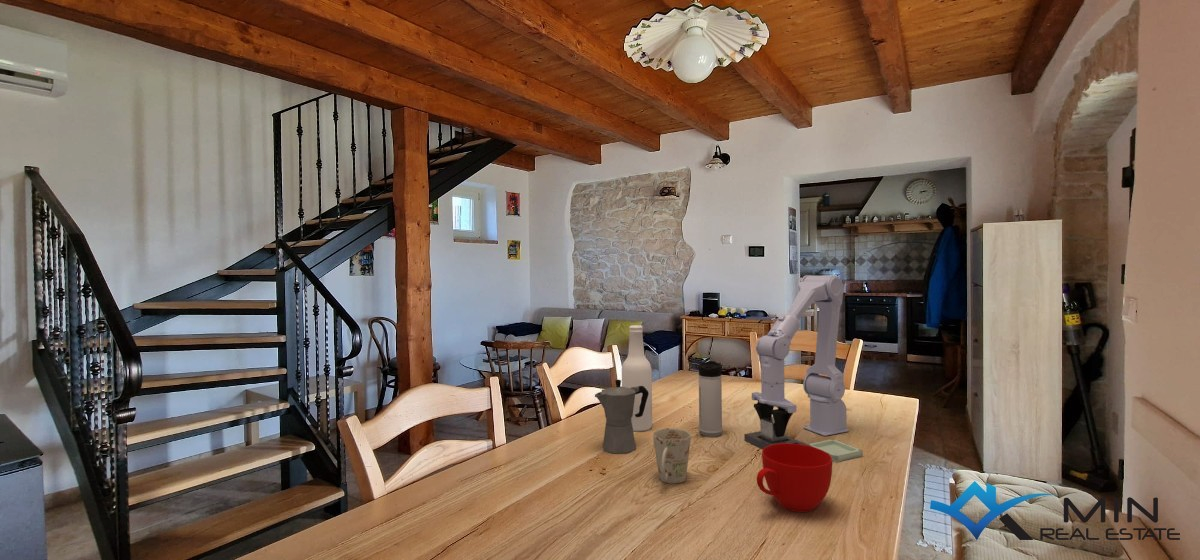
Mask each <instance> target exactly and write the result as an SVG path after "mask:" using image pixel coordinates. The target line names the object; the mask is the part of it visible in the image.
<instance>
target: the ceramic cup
mask: <svg viewBox="0 0 1200 560" xmlns="http://www.w3.org/2000/svg"><path fill="white" fill-rule="evenodd" d="M761 460H762V468H761V469H760V470H759V471H758V472H757V475H756V484H757V486H758V489H760V490H761V491H762V492H763V493H765V494H766V495H770V496H773V497H774V498H775V500H776V501H777V502H778V503H779V505H780V506H781V507H783V508H784V509H786V510H789V511H792V512H797V513H808V512H811V511H813V510H814V509H815V508H816V507H817V506H818V505H820V504H821V502H823V500H824V499H825V498H826V496H827V494H828V491H829V490H830V486H831V482H832V476H833V475H832V474H833V461H832V457H831V456H830V455H829V454H828V453H827V452H825V451H823V450H821V449H818V448H815V447H811V446H807V445H801V444H792V443H781V444H773V445H769V446H767V447H765V448H764V449H762V451H761ZM764 479H765V482H766V485H767V487H768V489H767V488H766V487H765V485H764Z"/></svg>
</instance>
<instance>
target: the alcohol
mask: <svg viewBox="0 0 1200 560" xmlns="http://www.w3.org/2000/svg"><path fill="white" fill-rule="evenodd" d="M628 328H629V330H628V332H629V336H628V337H629V338H628V353H627V357H626V359H625V360H624V361H623V363H622V365H621V366H622V367H621V387H626V388H631V387H636V386H637V387H638V386H644V387H645V388H646V389H647V390H648V393H649V394H648V398H647V401H646V405H645V409H644V412H643V415H642V416H641V417H635V414H637V413H639V406H640V404H641V398H642V395H643V394H642V393H639V394H635V400H634V408H633V416H632V417H631V422H632V427H633V432H645V431H646V432H647V431H649V430H651V428H652V426H653V384H652V383H653V381H652V380H653V379H652V378H653V377H652V376H653V375H652V374H653V373H652V369H653V368H652V365H651V363H650V361H649V360H648V358H646V355H645V348H644V347H645V346H644V339H643V337H644V336H643V335H644V334H643V332H644V331H643V328H644V327H643V325H638V324H637V325H636V324H635V325H630V326H629V327H628Z"/></svg>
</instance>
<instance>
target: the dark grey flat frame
mask: <svg viewBox="0 0 1200 560" xmlns="http://www.w3.org/2000/svg"><path fill="white" fill-rule="evenodd" d="M743 437H744V439H743V440H744V442H746V443H749V444H750V445H752V446H755V447H756V448H759V449H761V450H763V449H764V448H765V447H767V446H769V445H773V444H781V443H792V444H801V445H807V446H810V445H808V444H809V443H806V442H805V443H804V442H802V441H799V440H798V439H795V438H792V437H790V436H789V435H786V441H784V442H779V443H773V444H772V443H769V442H767V441H765V440H763V439H761V430H759V431H755V432H749V433H748V432H747V433H744V435H743ZM811 447H812V446H811ZM828 454H829V453H828Z"/></svg>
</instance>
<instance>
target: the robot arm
mask: <svg viewBox="0 0 1200 560" xmlns="http://www.w3.org/2000/svg"><path fill="white" fill-rule="evenodd" d="M843 296H844V283H843V282H842V280H841V278H840V277H839V276H838V275H835V274H834V275H811V274H810V275H809V274H806V275H804V276H803V277H802V278H801V279H800V282H799V283H798V293H797V295H796V297H795V298H794V300H793V301H792V304H791V306H790V308H789V309H788V311H787V312H786V313H783V314H782V313H781V314H780V315H779V316H778V317H777V320H776V321H775V322H774V323H773V325H772V326H771V329H769V331H768V333H767V334H765V335H762V336H761V337H760V338H759V339H758V341H757V342H756V346H755V350H756V354H757V355H758V362H760V367H761V368H760V370H761V371H760V372H761V373H760V375H761V376H760V377H761V388H760V389H761V392H759V391H756V392H751V400H752V401H757V403H753V408H754V409H755V411H756V413H757V415H758V418H759V420H760V419H762V418H768V417H773V418H774V422H775V432H776V436H777V437H782V436H784V434H785V430H786V431H787V428H788V427H787V426H788V424H789V421H790V419H791V417H792V416H793V414H795V413H797V404H795V403H793V402H791V401H789V400H788V399H787V398H785V397H786V396H785V359H786V358H787V356H789V352H790V350H791V349H790V346H791V344H792V343H791V342H792V339H793V338H794V337H795V335H796V333H797V332H798V330H799V328H800V327H801V325H800V319H801V318H802V317H803V316H804V315H805V313H806V312H807V311H808V310H809V308H810V307H811V306H812V304H815V306H816V307H817V308H818V310H819V311H818V321H817V335H816V346H815V348H816V349H815V356H814V358H815V359H814V364H812V365H811V366H809V367H808V368H806V374H805V377H804V379H803V382H802V387H803V391H804V393H805V394H806V395H807V398H808V399H809V425H804V426H803V427H802V428H803V429H806V430H808V431H811V432H813V433H816V434H818V435H821V436H824V437H826V436H831V435H835V434H841V433H846V432H849V431H850V429H849V428H847V405H846V403H845V401H844V400H842V398H844V395H845V393H846V387H845V386H846V385H845V383H844V376H845V375H844V374H843V372H842V371H841V370H839V369H838V368H837V366H836V358H837V346H838V345H837V344H838V336H839V335H838V333H839V326H840V325H839V323H840V313H841V306H842V305H843ZM774 408H775V409H774ZM776 408H777V409H776Z"/></svg>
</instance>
